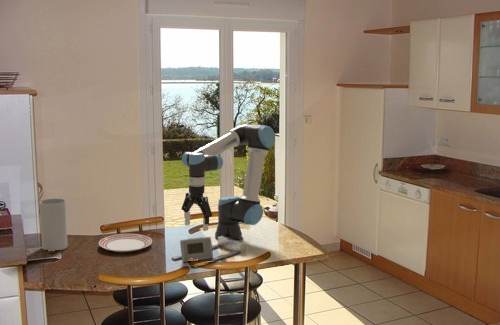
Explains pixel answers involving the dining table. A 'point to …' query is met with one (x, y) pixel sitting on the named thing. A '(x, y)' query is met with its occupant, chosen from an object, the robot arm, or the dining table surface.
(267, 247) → the dining table surface
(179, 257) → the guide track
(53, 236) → the cylinder vase
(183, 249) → the digital clock
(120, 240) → the dinner plate
